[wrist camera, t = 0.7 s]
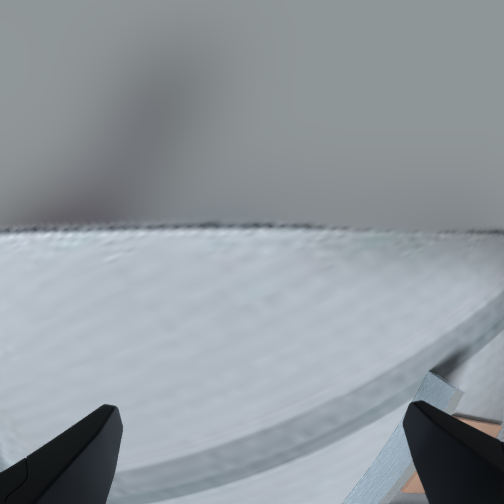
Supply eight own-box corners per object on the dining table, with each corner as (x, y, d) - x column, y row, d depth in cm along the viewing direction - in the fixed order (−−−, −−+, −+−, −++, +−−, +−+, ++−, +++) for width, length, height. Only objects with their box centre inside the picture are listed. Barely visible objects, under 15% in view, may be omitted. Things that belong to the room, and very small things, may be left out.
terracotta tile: (455, 489, 25) (457, 492, 25) (400, 489, 25) (402, 492, 24) (499, 424, 25) (502, 426, 24) (451, 415, 25) (454, 418, 24)
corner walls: (443, 521, 25) (456, 539, 21) (325, 522, 25) (334, 549, 20) (526, 401, 25) (548, 413, 21) (428, 371, 24) (455, 389, 20)
